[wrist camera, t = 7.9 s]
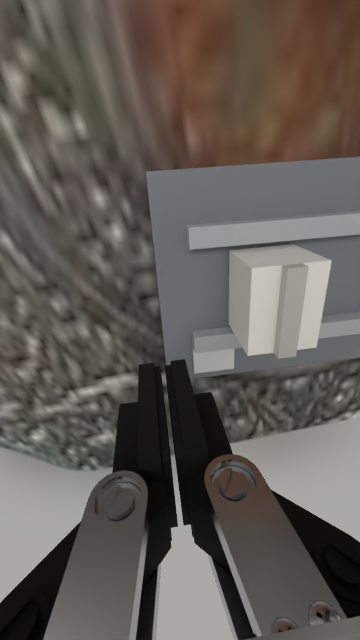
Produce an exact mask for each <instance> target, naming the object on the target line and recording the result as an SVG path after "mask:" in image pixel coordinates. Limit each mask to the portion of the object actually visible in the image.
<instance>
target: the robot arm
mask: <svg viewBox="0 0 360 640" xmlns="http://www.w3.org/2000/svg"><path fill="white" fill-rule="evenodd" d="M165 371H166V380H167V389H168V399H169V408H170V417H171V426H172V434H173V442H174V451H175V459H176V467H177V475H178V483H179V491H180V499H181V507H182V515H183V523H184V525H189V524H191V529H192V536H193V537H194V542H195V544H197V545H198V546H199V547H200V548H201V549H203V550H204V551H205V552H206V553H207V554H208V556H209V561H210V564H211V567H212V571H213V574H214V577H215V580H216V584H217V587H218V589H219V593H220V596H221V600H222V603H223V606H224V609H225V612H226V616H227V619H228V622H229V625H230V628H231V632H232V634H233V638H234V640H360V542H358V541H357V540H356V539H354V538H353V537H352V536H350V535H348V534H346V533H345V532H343V531H341V530H340V529H338V528H336V527H335V526H332V525H331V524H329V523H328V522H326V521H324V520H322V519H321V518H319V517H317V516H316V515H314V514H312V513H310V512H309V511H307V510H305V509H303V508H302V507H300V506H298V505H296V504H294V503H293V502H291V501H290V500H288V499H286V498H284V497H283V496H281V495H279V494H277V493H276V492H274V491H272V490H271V489H270V488H269V486H268V484H267V483H266V481H265V479H264V478H263V476H262V474H261V473H260V471H259V470H258V468H257V467H256V466H255V465H254V464H253V463H252V462H251V461H249V460H248V459H246V458H244V457H241V456H239V455H233V453H232V450H231V447H230V444H229V441H228V439H227V436H226V433H225V430H224V427H223V424H222V421H221V418H220V415H219V412H218V409H217V407H216V404H215V401H214V398H213V395H212V393H211V392H208V393H201V394H194V393H193V389H192V385H191V381H190V377H189V373H188V369H187V365H186V361H185V359H181V360H173V361H170V365H165ZM177 526H178V524H177V514H176V505H175V496H174V486H173V476H172V468H171V457H170V448H169V438H168V429H167V420H166V411H165V403H164V394H163V386H162V377H161V369H160V366H157V367H155V366H154V363H149V364H141V365H139V387H138V402H134V403H127V404H121V405H120V408H119V416H118V426H117V435H116V445H115V454H114V463H113V473H112V474H110V475H107V476H106V477H105V478H103V479H102V480H101V481H99V483H98V484H97V485H96V486H95V487H94V489H93V490H92V492H91V495H90V497H89V499H88V502H87V505H86V508H85V511H84V515H83V517H82V521H81V522H80V523H79V524H78V525H77V526H76V527H75V528H74V529H73V530H72V531H71V532H70V533H69V534H68V535H67V536H66V537H65V538H64V539H63V540H62V541H61V542H60V543H59V544H58V545H57V546H56V547H55V548H54V549H53V550H52V551H51V552H50V553H49V554H48V555H47V556H46V557H45V558H44V559H43V560H42V561H41V562H40V563H39V564H38V565H37V566H36V567H35V568H34V569H33V570H32V571H31V572H30V573H29V574H28V575H27V576H26V577H25V578H24V579H23V580H22V581H21V582H20V583H19V584H18V585H17V587H15V588H14V589H13V590H12V592H11V593H10V594H9V595H8V596H7V597H6V598H5V599H4V600H3V601H2V602H1V603H0V640H156V629H157V615H158V601H159V588H160V574H161V561H162V560H163V559H164V557H165V556H166V554H167V552H168V551H169V550H170V548H171V540H172V538H171V528H172V527H177Z"/></svg>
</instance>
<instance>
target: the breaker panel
mask: <svg viewBox="0 0 360 640" xmlns="http://www.w3.org/2000/svg"><path fill="white" fill-rule="evenodd" d="M146 180H147V189H148V199H149V208H150V218H151V227H152V236H153V246H154V255H155V265H156V274H157V284H158V293H159V303H160V312H161V321H162V331H163V340H164V350H165V359H166V365H170V361H173V360H181V359H185V361H186V365H187V369H188V373H189V377H190V379H194V378H202V377H210V376H218V375H226V374H234V373H242V372H250V371H258V370H266V369H274V368H282V367H290V366H298V365H306V364H314V363H322V362H330V361H338V360H346V359H354V358H360V157H348V158H334V159H319V160H305V161H291V162H276V163H262V164H248V165H234V166H219V167H205V168H191V169H177V170H162V171H148V172H146ZM292 244H293V245H296V246H298V247H301V248H303V249H306V250H308V251H310V252H313V253H315V254H318V255H320V256H322V257H325V258H327V259H330V260H332V262H331V268H330V273H329V279H328V285H327V290H326V296H325V302H324V308H323V313H322V319H321V325H320V330H319V336H318V342H317V347H316V348H309V349H301V350H297V354H296V357H288V358H280V359H278V358H277V356H276V355H275V354H274V353H268V354H259V355H251V356H247V354H246V352H245V351H244V349H243V347H242V346H241V344H240V342H239V341H238V339H237V337H236V336H235V334H234V332H233V331H232V329H231V327H230V326H229V324H228V318H229V250H238V249H248V248H259V247H270V246H281V245H292Z"/></svg>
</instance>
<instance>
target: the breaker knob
mask: <svg viewBox="0 0 360 640" xmlns="http://www.w3.org/2000/svg"><path fill="white" fill-rule="evenodd" d="M331 262H332V260H330V259H327V258H325V257H322V256H320V255H318V254H315V253H313V252H310V251H308V250H306V249H303V248H301V247H298V246H296V245H293V244H292V245H281V246H270V247H259V248H248V249H238V250H229V318H228V324H229V326H230V327H231V329H232V331H233V332H234V334H235V336H236V337H237V339H238V341H239V342H240V344H241V346H242V347H243V349H244V351H245V352H246V354H247V356H251V355H259V354H268V353H274V354H275V355H276V356H277V358H278V359H280V358H288V357H296V354H297V350H301V349H309V348H316V347H317V342H318V336H319V330H320V325H321V319H322V313H323V308H324V302H325V296H326V290H327V285H328V279H329V273H330V268H331Z"/></svg>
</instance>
